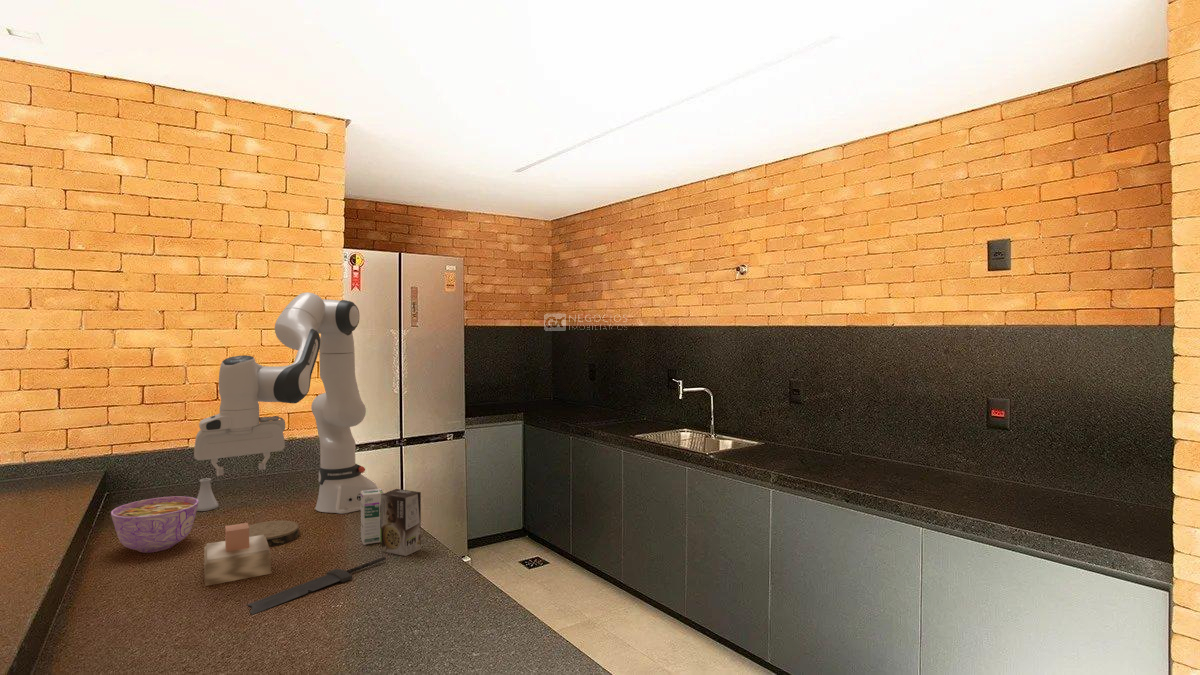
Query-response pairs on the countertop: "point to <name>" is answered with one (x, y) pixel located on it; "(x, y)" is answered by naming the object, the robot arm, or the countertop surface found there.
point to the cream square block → (236, 561)
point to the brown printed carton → (401, 522)
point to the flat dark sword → (307, 587)
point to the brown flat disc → (275, 531)
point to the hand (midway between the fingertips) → (241, 472)
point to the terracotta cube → (237, 537)
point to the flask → (206, 496)
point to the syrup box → (371, 516)
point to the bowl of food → (154, 522)
